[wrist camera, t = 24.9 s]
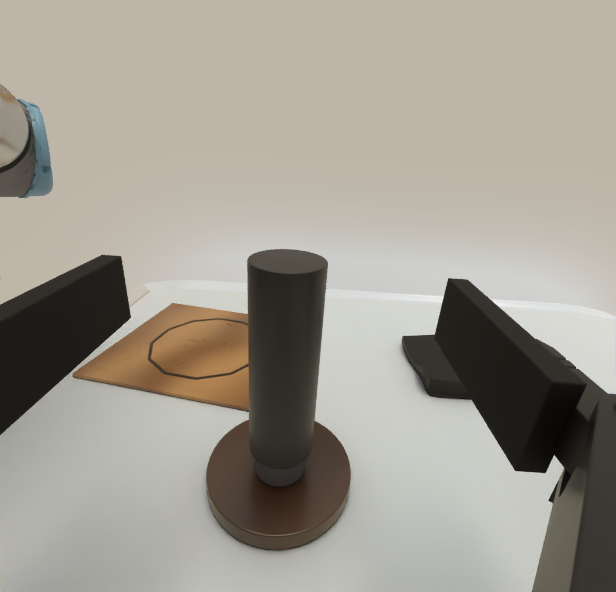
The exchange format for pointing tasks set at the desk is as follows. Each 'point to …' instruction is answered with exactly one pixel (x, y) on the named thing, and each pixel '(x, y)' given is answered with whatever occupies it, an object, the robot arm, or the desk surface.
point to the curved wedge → (433, 367)
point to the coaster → (277, 492)
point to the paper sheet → (181, 357)
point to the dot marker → (283, 359)
